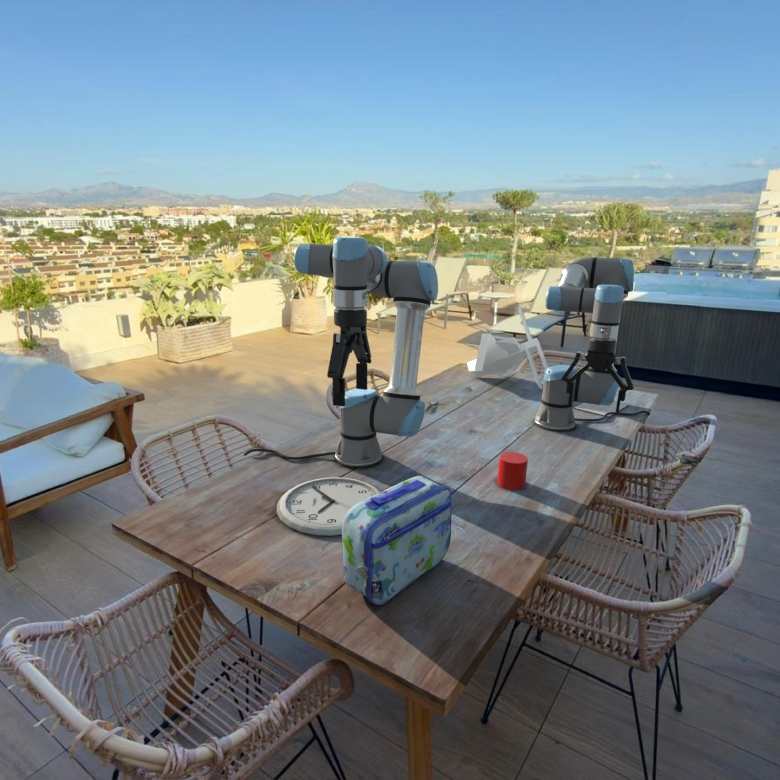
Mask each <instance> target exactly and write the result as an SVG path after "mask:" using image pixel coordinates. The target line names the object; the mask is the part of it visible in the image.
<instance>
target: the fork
mask: <svg viewBox="0 0 780 780" xmlns="http://www.w3.org/2000/svg"><path fill="white" fill-rule="evenodd" d="M438 401H439V398H438V397H435V396H433V398H432V399H431V401H430V404H429V405H428V406H427V408H425V412H427V411H428V410H429V409H431V408H432V406H433V405H437V404H438Z"/></svg>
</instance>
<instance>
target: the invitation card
mask: <svg viewBox="0 0 780 780" xmlns="http://www.w3.org/2000/svg"><path fill="white" fill-rule="evenodd" d="M616 406H617V401H615V400H614V401H613V403H612V404H611V405H609V406H606V405H596V404H589V403H580V404H578V405H575V406H574V407H573V409H575V410H581V411H584V412H587V413H593V414H596V415H600V416H604V415H605V414H606V413H609V412H616ZM628 406H629V404H627V403H623V402H620V407H619V411H621V410H623V409H624V408H626V407H628ZM613 415H614V414H609V415H607V416H606V417H608V418H609V417H611V416H613Z"/></svg>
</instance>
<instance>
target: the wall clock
mask: <svg viewBox="0 0 780 780" xmlns="http://www.w3.org/2000/svg"><path fill="white" fill-rule="evenodd" d="M380 492H382V491H381V490H380V489H379V488H377V487H376V486H374V485H372V484H371V483H369V482H365V481H362V480H359V479H355V478H349V477H338V476H337V477H335V476H333V477H332V476H331V477H322V478H317V479H312V480H307V481H305V482H302V483H299V484H297V485H295V486H293V487H292V488H290V489H288V490H287V491H286V492H285V493H284V494H283V495H281V496H280V498H279V499H278V502H277V503H276V515H277V517H278V518H279V520H280V521H281V522H282V523H283V524H285V525H286V526H287V527H288V528H290V529H293V530H295V531H297V532H299V533H303V534H308V535H312V536H327V537H328V536H329V537H331V536H332V537H333V536H342V525H343V521H344V518H345V516H346V514H347V512H348V511H349V510H350V509H351V508H352V507H353V506H354V505H356V504H358V503H360V502H362V501H364V500H366V499H368V498H370V497H372V496H374V495H376V494H378V493H380Z"/></svg>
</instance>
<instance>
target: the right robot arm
mask: <svg viewBox="0 0 780 780" xmlns="http://www.w3.org/2000/svg"><path fill="white" fill-rule="evenodd" d="M634 265H635V264H634V261H633V260H632V259H630V258H623V257H597V256H595V257H594V256H587V257H586V256H585V257H582V258H578V259H577V260H574V261H571V262H569V263H568V264H567V265H565V267H564V268H563V269H562V271H561V273H560V281H559V283H558V285H555V286H553V285H551V286H549V287H547V288H546V292H545V293H546V294H545V303H544V304H545V305H544V306H545V309H546V310H549V311H555V312H568V313H585V314H586V313H587V314H592V319H591V323H590V330H589V336H590V338H589V339H588V345H587V352H586V353H584V352H581V351H577V352H576V353H575V357H574V360H573V361H572V363H571V364H560V365H559V364H558V365H553V366H550V367H549V366H548V369H546V371H545V370H544V375H543V379H542V382H543V385H542V394H541V402H540V405H539V407H538V410H537V411H536V413H535V417H534V424H535V425H536V426H537V427H539V428H542V429H544V430H549V431H556V432H567V431H572V430H574V429H575V428H576V421H577V422H599V421H603V420H605V419H606V418H607V417H608V416H607V415H609V414H613V415H621V416H637V415H641V414H647V415H649V416H651V413H650V412H649V411H647V410H640V411H638V412H633V413H631V412H630V413H629V412H620V410H619V407H620V403H621V402H625V400H626V394H627V391H632V390H634V387H635V385H634V383H633V379H632V378H631V375H630V372H629V370H628V367H627V364H626V361H627V357H626V356H623V355H622V356H616V352H617V351H616V350H617V343H618V336H619V329H620V324H621V323H620V322H621V317H622V316H621V314H622V309H623V301H624V300H625V299H626V298H628V297H629V293H632V292H633V291H634V283H635V282H634V281H635V268H634ZM583 358H585V361H586V362H587V363H586V364H584V365H583V366H582V367H581V368H580V369H578V367H577V366H576V365H577V364H578V363H579V361H582V360H583ZM615 362H616V363H617V365H619V366H620V369H621V372H622V374H623V377H624V379H625V382H626V383H625V382H624V380H623V379H622V378H621V376H620V375H619V374H618V369H616V367H615V365H614V363H615ZM618 388H619V389H618ZM617 392H618V393H617ZM616 395H617V400H616V402H617V406H616V412H609V413H606V414H605V415H603V416H602V417H601V418H600V417H599V418H577V417H576V416H575V413H574V407H573V405H574V403H580V404H582V403H589V404H596V405H606V406H609V405H611V404H612V403H613V401H614V402H615V399H616ZM575 417H576V418H575Z"/></svg>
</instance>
